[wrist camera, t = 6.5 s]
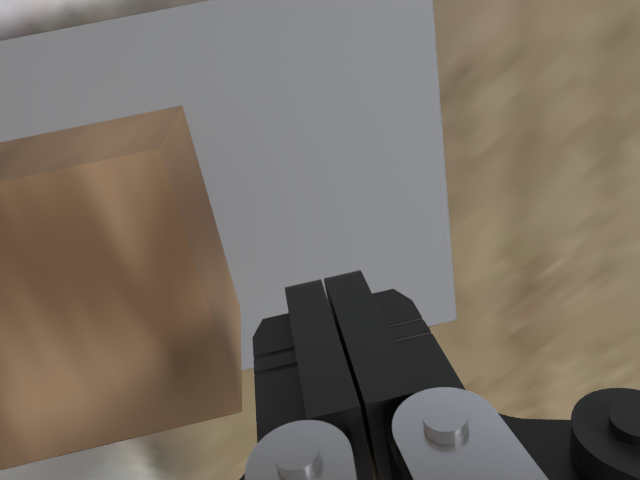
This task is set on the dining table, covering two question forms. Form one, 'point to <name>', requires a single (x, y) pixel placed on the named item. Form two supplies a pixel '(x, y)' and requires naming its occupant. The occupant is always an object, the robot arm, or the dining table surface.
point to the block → (110, 289)
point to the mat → (275, 132)
